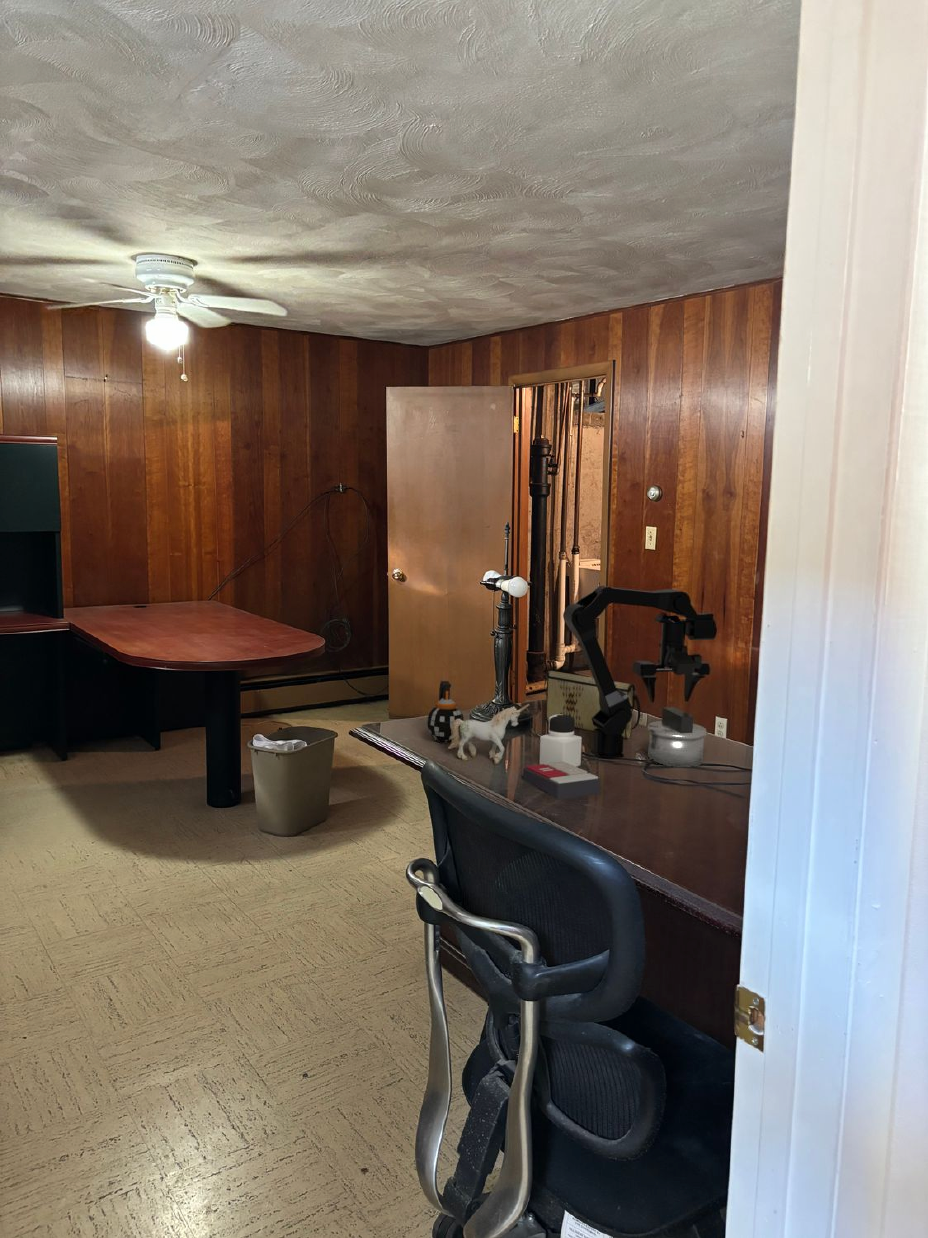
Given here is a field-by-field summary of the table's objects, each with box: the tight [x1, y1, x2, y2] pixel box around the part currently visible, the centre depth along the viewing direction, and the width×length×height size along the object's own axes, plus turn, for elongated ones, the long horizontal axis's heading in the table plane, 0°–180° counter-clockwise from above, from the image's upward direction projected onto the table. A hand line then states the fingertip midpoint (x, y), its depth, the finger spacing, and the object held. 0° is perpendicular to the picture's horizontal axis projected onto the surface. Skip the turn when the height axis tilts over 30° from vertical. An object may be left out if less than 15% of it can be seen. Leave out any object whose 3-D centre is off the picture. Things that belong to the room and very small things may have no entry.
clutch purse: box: [543, 670, 642, 740], centre depth 245 cm, size 30×7×15 cm, turn 51°
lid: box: [646, 706, 707, 740], centre depth 217 cm, size 14×14×5 cm
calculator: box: [522, 762, 602, 801], centre depth 195 cm, size 11×4×15 cm
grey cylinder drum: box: [647, 732, 705, 768], centre depth 218 cm, size 13×13×7 cm
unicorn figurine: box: [447, 703, 530, 765], centre depth 213 cm, size 7×20×13 cm, turn 90°
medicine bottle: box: [538, 714, 583, 767], centre depth 210 cm, size 7×7×12 cm
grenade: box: [426, 680, 465, 745], centre depth 230 cm, size 11×10×15 cm
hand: (669, 701), depth 223 cm, fingers open, 9 cm apart
